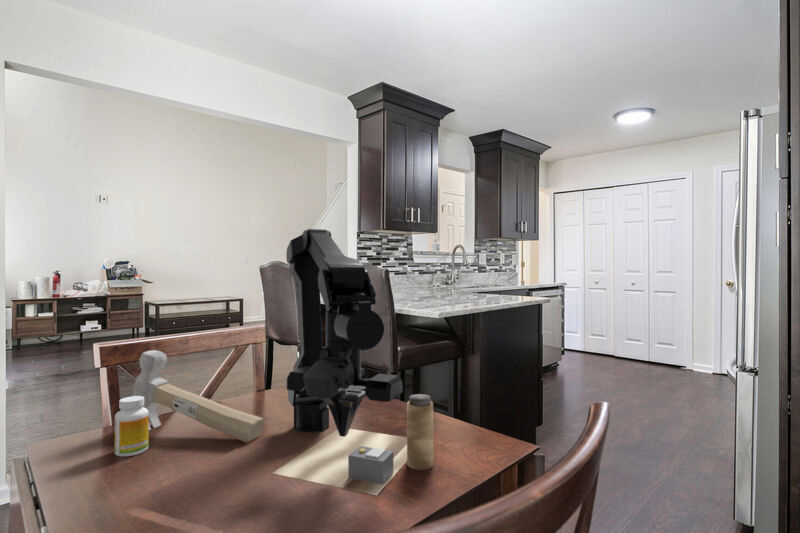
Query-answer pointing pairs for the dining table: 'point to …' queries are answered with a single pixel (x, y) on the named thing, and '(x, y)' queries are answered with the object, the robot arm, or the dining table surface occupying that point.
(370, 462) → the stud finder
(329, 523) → the dining table surface
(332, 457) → the plywood panel
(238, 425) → the hammer
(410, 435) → the marker peg
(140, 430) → the supplement bottle
